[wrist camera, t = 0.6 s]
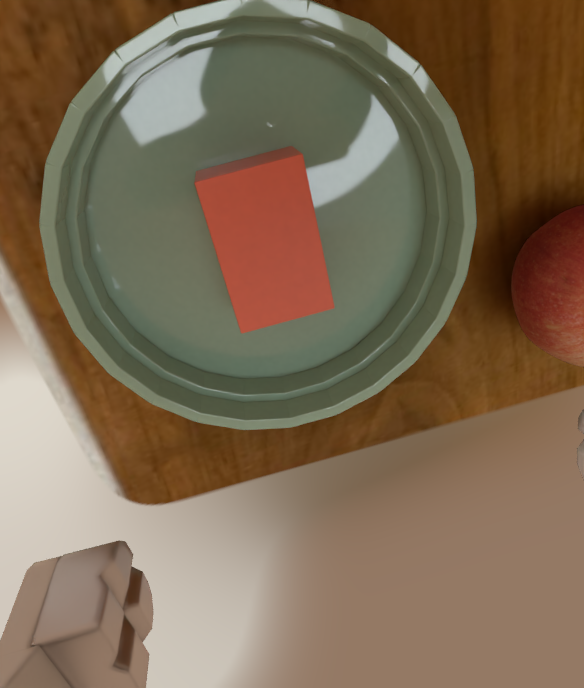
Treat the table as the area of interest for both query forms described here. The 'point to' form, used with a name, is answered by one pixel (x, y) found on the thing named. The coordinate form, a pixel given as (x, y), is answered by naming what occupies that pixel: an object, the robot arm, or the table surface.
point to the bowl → (192, 230)
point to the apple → (553, 286)
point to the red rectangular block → (266, 237)
